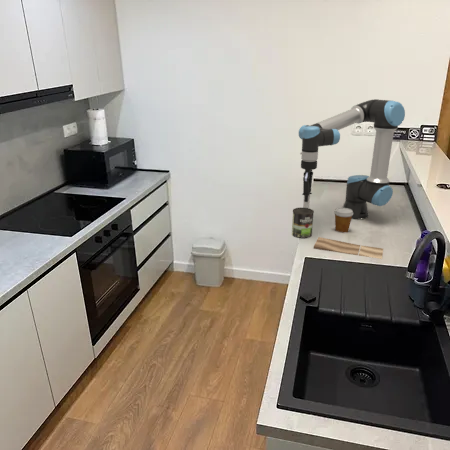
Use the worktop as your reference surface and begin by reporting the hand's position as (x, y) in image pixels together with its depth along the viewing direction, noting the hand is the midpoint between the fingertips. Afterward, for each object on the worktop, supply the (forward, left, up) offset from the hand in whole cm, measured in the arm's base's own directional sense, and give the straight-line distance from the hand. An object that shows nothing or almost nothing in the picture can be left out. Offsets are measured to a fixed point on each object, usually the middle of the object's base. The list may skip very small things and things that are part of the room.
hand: (306, 207), depth 210 cm
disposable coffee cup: (-15, +16, -16) cm, 28 cm away
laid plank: (+8, +33, -16) cm, 38 cm away
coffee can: (-1, -2, -16) cm, 16 cm away
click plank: (+8, +17, -16) cm, 25 cm away
